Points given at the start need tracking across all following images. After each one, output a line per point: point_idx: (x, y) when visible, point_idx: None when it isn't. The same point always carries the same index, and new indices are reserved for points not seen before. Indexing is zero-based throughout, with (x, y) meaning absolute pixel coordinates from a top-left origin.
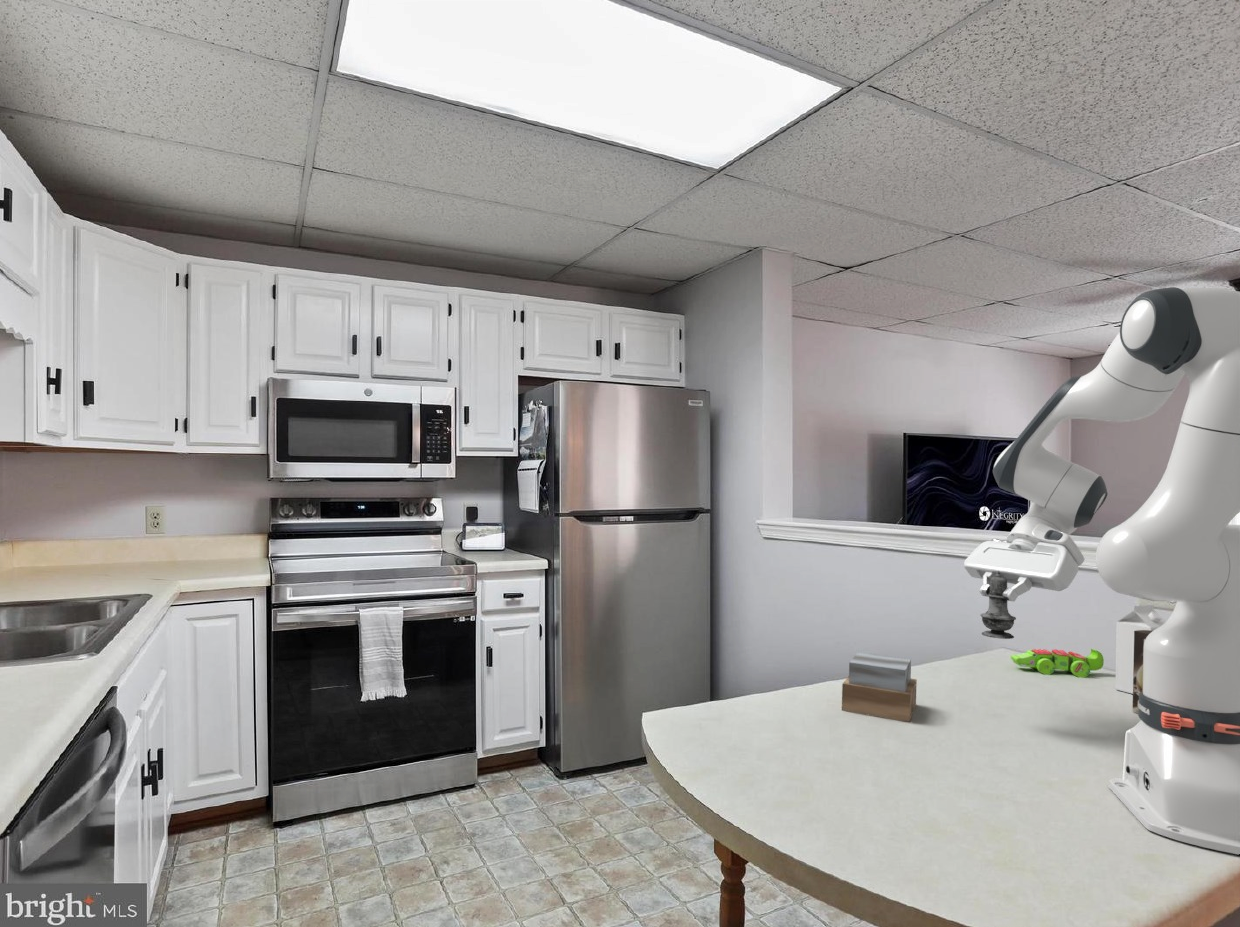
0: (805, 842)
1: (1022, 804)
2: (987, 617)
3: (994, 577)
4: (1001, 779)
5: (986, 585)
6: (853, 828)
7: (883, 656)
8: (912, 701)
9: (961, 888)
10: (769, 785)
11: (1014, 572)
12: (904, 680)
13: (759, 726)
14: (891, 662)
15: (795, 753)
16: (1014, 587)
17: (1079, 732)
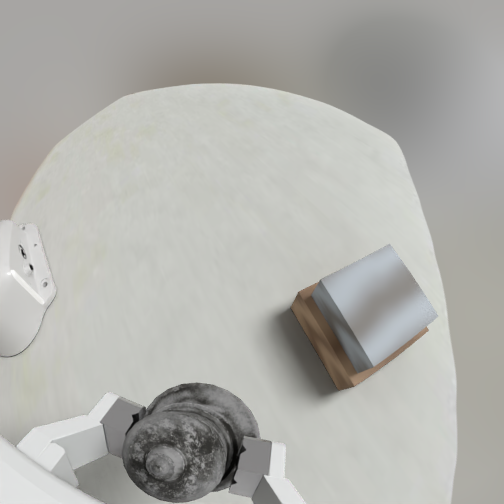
0: (190, 91)
1: (108, 197)
2: (209, 385)
3: (179, 428)
4: (132, 227)
5: (258, 465)
6: (181, 107)
7: (405, 333)
8: (315, 336)
9: (121, 109)
10: (247, 109)
11: (66, 485)
12: (316, 286)
13: (347, 168)
14: (370, 307)
15: (281, 146)
16: (83, 420)
17: (125, 478)
